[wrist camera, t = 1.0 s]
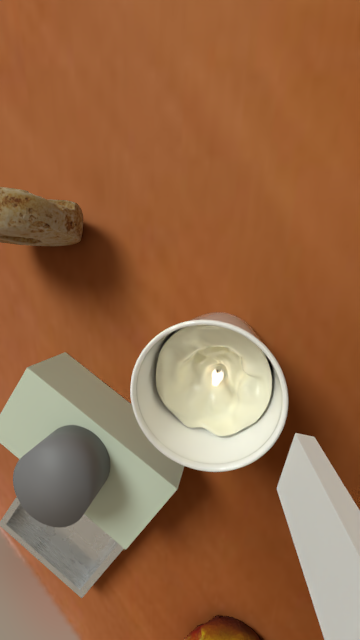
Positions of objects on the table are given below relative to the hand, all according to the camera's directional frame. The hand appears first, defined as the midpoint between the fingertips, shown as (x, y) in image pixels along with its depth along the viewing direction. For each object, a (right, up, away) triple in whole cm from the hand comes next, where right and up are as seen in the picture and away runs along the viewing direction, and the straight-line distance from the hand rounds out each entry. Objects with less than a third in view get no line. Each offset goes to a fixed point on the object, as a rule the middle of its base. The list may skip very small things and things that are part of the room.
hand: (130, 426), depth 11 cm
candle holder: (+6, +1, +18) cm, 19 cm away
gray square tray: (-11, -20, +24) cm, 33 cm away
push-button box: (-7, -8, +21) cm, 24 cm away
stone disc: (-12, +14, +20) cm, 27 cm away
